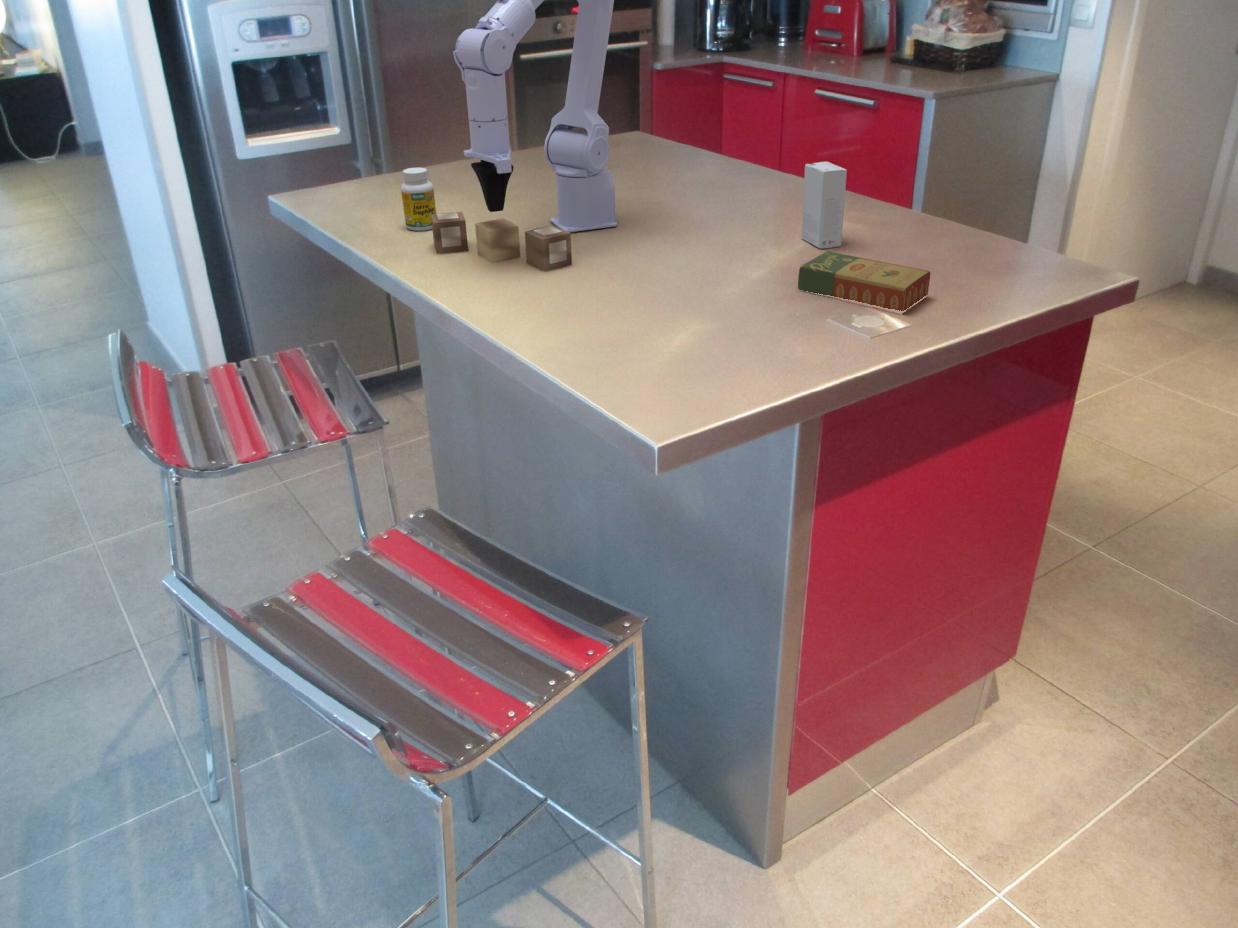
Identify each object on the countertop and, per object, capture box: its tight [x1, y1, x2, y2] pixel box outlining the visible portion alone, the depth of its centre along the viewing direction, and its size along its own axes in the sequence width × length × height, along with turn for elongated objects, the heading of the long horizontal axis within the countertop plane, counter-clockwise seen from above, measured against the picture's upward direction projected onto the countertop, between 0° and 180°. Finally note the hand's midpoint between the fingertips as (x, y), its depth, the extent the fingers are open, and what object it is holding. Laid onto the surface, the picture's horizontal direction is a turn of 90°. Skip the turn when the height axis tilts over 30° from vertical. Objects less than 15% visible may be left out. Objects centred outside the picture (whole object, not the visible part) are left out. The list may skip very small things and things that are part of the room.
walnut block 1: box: [431, 211, 469, 254], centre depth 157 cm, size 5×5×5 cm
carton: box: [797, 250, 931, 311], centre depth 137 cm, size 8×16×4 cm, turn 51°
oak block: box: [474, 217, 521, 264], centre depth 153 cm, size 5×5×5 cm
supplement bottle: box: [400, 167, 437, 232], centre depth 166 cm, size 5×5×10 cm
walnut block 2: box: [524, 224, 573, 272], centre depth 149 cm, size 5×5×5 cm
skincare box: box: [801, 161, 848, 250], centre depth 155 cm, size 6×4×12 cm
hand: (495, 210), depth 151 cm, fingers closed
